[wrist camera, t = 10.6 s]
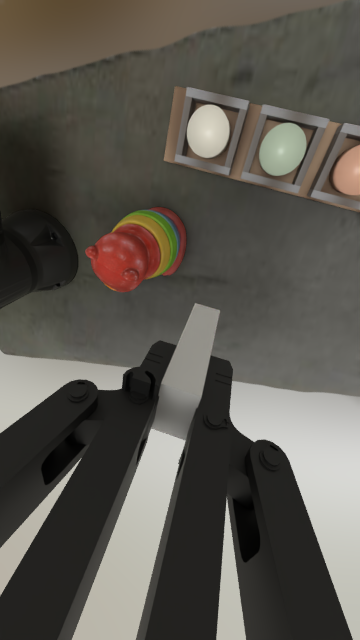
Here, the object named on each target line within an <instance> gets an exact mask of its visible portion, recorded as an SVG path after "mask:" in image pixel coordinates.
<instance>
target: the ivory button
mask: <svg viewBox="0 0 360 640" xmlns="http://www.w3.org/2000/svg"><path fill="white" fill-rule="evenodd" d="M230 137H231V128H230V124H229V121H228V119H227V117H226V115H225V113H224V112H223V111H222V109H220V108H219V107H217V106H215V105H204V106H202V107H200V108H198V109H197V110H196V111H195V112H194V113H193V115H192V116H191V118H190V120H189V123H188V127H187V139H188V143H189V146H190V147H191V149H192V150H193V152H194V153H196V154H197V155H199V156H201V157H204V158H207V159H213V158H216V157H218V156H220V155H221V154H222V153H223V152H224V151H225V150H226V148H227V146H228V144H229V141H230Z"/></svg>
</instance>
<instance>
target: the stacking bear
mask: <svg viewBox="0 0 360 640" xmlns="http://www.w3.org/2000/svg"><path fill="white" fill-rule="evenodd" d="M185 249H186V231H185V227H184V225H183V223H182V221H181V219H180V218H179V217H178V216H177V215H176V214H175V213H174V212H172V211H171V210H169V209H166V208H163V207H154V208H150V209H148V210H139V211H135V212H133V213H131V214H129V215H127V216H126V217H124V218H123V219H122V220H121V221H120V222H119V223H118V224H117V225H116V226H115V227H114V229H113V230H112V232H111V233H109V234H106V235H104V236H103V237H101V238H100V239H99V240H98V241H97V242H96V244H95V246H90V247H88V248H87V249H86V251H85V253H86V255H87V256H88V257H89V258H91V265H92V268H93V270H94V272H95V274H96V275H97V276H98V278H99V279H100V280H101V281H102V282H103V283H104V284H105V285H106V286H107V287H109V288H110V289H112V290H114V291H119V292H128V291H131V290H133V289H135V288H136V287H137V286H138V285H139V284H140V283H141V282H142V280H144V279H149V278H153V277H156V276H159V275H161V274H162V275H164V276H166V275H171V274H173V273H174V272H175V271H176V270H177V269H178V267H179V266H180V264H181V262H182V260H183V257H184V254H185Z"/></svg>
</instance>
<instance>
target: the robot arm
mask: <svg viewBox="0 0 360 640" xmlns="http://www.w3.org/2000/svg"><path fill="white" fill-rule="evenodd" d="M77 267H78V258H77V252H76V249H75V246H74V243H73V241H72V239H71V237H70V235H69V234H68V232H67V231H66V230H65V228H64V227H63V226H62V225H61V224H60V223H59V222H58V221H57V220H56V219H54V218H53V217H52V216H50V215H49V214H47V213H45V212H42V211H39V210H34V209H29V210H22V211H17V212H14V213H12V214H10V215H9V216H7V217H6V218H5V219H3V220H1V213H0V309H1V308H3V307H4V306H6V305H8V304H10V303H12V302H14V301H16V300H17V299H19V298H21V297H23V296H25V295H27V294H29V293H31V292H38V291H47V290H55V289H58V288H61V287H62V286H64V285H66V284H68V283H69V282H70V281H71V280H72V279H73V278H74V276H75V274H76V271H77ZM219 314H220V310H217V309H214V308H210V307H207V306H203V305H200V304H196V303H195V305H194V307H193V309H192V312H191V314H190V316H189V319H188V321H187V324H186V326H185V328H184V331H183V333H182V335H181V338H180V340H179V342H178V345H177V346H176V345H173V344H170V343H167V342H163V341H158V342H157V343H155V344H153V345H152V347H151V348H150V350H149V352H148V354H147V355H146V357H145V359H144V361H143V362H142V364H141V366H140V367H134V368H131V369H129V370H127V371H126V372H125V374H123V385H122V389H119V390H98V389H97V387H96V385H95V384H94V383H93V382H90V381H88V380H75V381H71V382H69V383H67V384H66V385H64V386H63V387H61V388H60V389H59V390H57V391H56V392H55V393H53V394H52V395H51V396H49V397H48V398H47V399H45V400H44V401H43V402H41V403H40V404H39V405H37V406H36V407H35V408H34V409H32V410H31V411H30V412H28V413H27V414H25V415H24V416H23V417H22V418H20V419H19V420H18V421H16V422H15V423H13V424H12V425H11V426H10V427H8V428H7V429H6V430H4V431H3V432H2V433H0V548H1V547H2V545H3V544H4V543H5V542H6V541H7V540H8V539H9V538H10V537H11V535H12V534H13V533H14V532H15V531H16V530H17V529H18V528H19V526H20V525H21V524H22V523H23V522H24V521H25V520H26V519H27V518H28V517H29V515H30V514H31V513H32V512H33V511H34V510H35V509H36V508H37V507H38V505H39V504H40V503H41V502H42V501H43V500H44V499H45V498H46V497H47V495H48V494H49V493H50V492H51V491H52V490H53V489H54V488H55V487H56V485H57V484H58V483H59V482H60V481H61V480H62V479H63V478H64V477H65V476H66V474H67V473H68V472H69V471H70V470H71V469H72V468H73V467H74V466H75V464H76V463H77V462H78V461H79V460H80V459H81V458H82V459H81V461H80V462H79V464H78V466H77V467H76V469H75V471H74V472H73V474H72V476H71V477H70V479H69V481H68V482H67V484H66V486H65V487H64V489H63V491H62V493H61V495H60V496H59V498H58V500H57V501H56V503H55V504H54V506H53V508H52V509H51V511H50V513H49V515H48V516H47V518H46V520H45V521H44V523H43V525H42V527H41V528H40V530H39V532H38V533H37V535H36V537H35V538H34V540H33V542H32V543H31V545H30V547H29V548H28V550H27V552H26V554H25V555H24V557H23V559H22V560H21V562H20V564H19V565H18V567H17V569H16V570H15V572H14V574H13V576H12V577H11V579H10V581H9V582H8V584H7V586H6V587H5V589H4V591H3V593H2V594H1V596H0V640H72V637H73V635H74V632H75V629H76V627H77V624H78V622H79V619H80V616H81V613H82V611H83V608H84V606H85V603H86V600H87V598H88V595H89V592H90V590H91V587H92V584H93V582H94V579H95V577H96V574H97V571H98V569H99V566H100V564H101V561H102V558H103V556H104V553H105V551H106V548H107V545H108V542H109V540H110V537H111V535H112V532H113V530H114V527H115V524H116V522H117V519H118V517H119V514H120V511H121V509H122V506H123V503H124V501H125V498H126V496H127V493H128V490H129V488H130V485H131V482H132V480H133V477H134V475H135V472H136V469H137V467H138V464H139V461H140V459H141V456H142V453H143V451H144V448H145V446H146V443H147V439H148V435H149V432H150V429H151V427H152V429H155V430H158V431H161V432H163V433H166V434H169V435H172V436H175V437H178V438H181V439H183V440H186V442H185V446H184V449H183V452H182V454H181V457H180V460H179V463H178V464H179V467H178V471H177V475H176V479H175V483H174V487H173V491H172V495H171V499H170V504H169V508H168V512H167V516H166V520H165V524H164V528H163V532H162V536H161V540H160V544H159V548H158V552H157V556H156V560H155V565H154V569H153V574H152V577H151V581H150V585H149V589H148V593H147V597H146V601H145V605H144V609H143V613H142V617H141V621H140V626H139V629H138V634H137V638H136V640H216V634H217V620H218V607H219V592H220V579H221V566H222V552H223V538H224V524H225V511H226V498H227V500H228V507H229V514H230V522H231V530H232V537H233V545H234V552H235V559H236V567H237V574H238V582H239V589H240V597H241V604H242V611H243V619H244V626H245V634H246V640H353V639H352V636H351V633H350V630H349V628H348V625H347V622H346V619H345V616H344V614H343V611H342V608H341V605H340V602H339V600H338V597H337V594H336V591H335V589H334V585H333V583H332V580H331V577H330V575H329V571H328V569H327V566H326V563H325V560H324V558H323V555H322V552H321V549H320V546H319V543H318V541H317V538H316V535H315V532H314V530H313V527H312V524H311V521H310V518H309V516H308V513H307V510H306V507H305V504H304V501H303V499H302V496H301V493H300V490H299V487H298V485H297V482H296V479H295V476H294V474H293V471H292V468H291V465H290V462H289V460H288V458H287V456H286V454H285V453H284V452H283V451H282V450H281V448H280V447H279V446H277V445H276V444H274V443H273V442H270V441H267V440H257V441H256V442H253V441H251V440H250V439H249V438H247V437H245V436H244V435H243V434H241V433H240V432H239V431H238V430H237V429H236V428H235V427H234V425H233V424H232V422H231V419H230V415H229V409H230V398H231V397H230V396H231V385H232V374H233V369H232V366H231V364H230V362H229V361H227V360H224V359H220V358H217V357H214V356H211V351H212V346H213V341H214V337H215V332H216V328H217V323H218V318H219Z"/></svg>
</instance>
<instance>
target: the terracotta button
mask: <svg viewBox="0 0 360 640" xmlns="http://www.w3.org/2000/svg"><path fill="white" fill-rule="evenodd" d="M330 183H331V185H332V187H333V188H334V189H335V190H336V191H337V192H339V193H343V194H348V195H360V145H358V146H354V147H352V148H349V149H347V150H346V151H344V152H343V153H342V154H341V155H340V156H339V157H338V158H337V159H336V160H335V162H334V163H333V166H332V168H331V171H330Z"/></svg>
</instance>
